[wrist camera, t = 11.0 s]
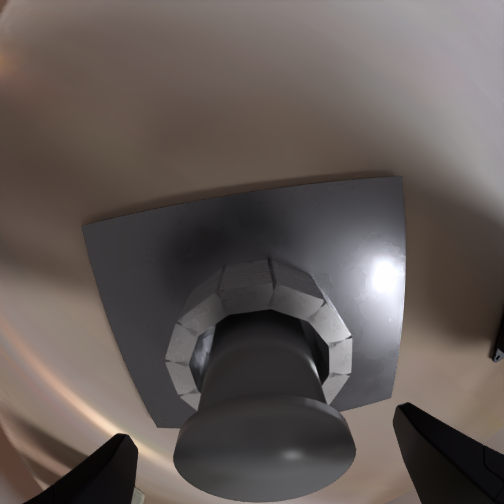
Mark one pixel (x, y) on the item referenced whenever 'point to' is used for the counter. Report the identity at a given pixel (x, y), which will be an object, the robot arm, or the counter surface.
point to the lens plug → (262, 416)
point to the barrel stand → (257, 284)
